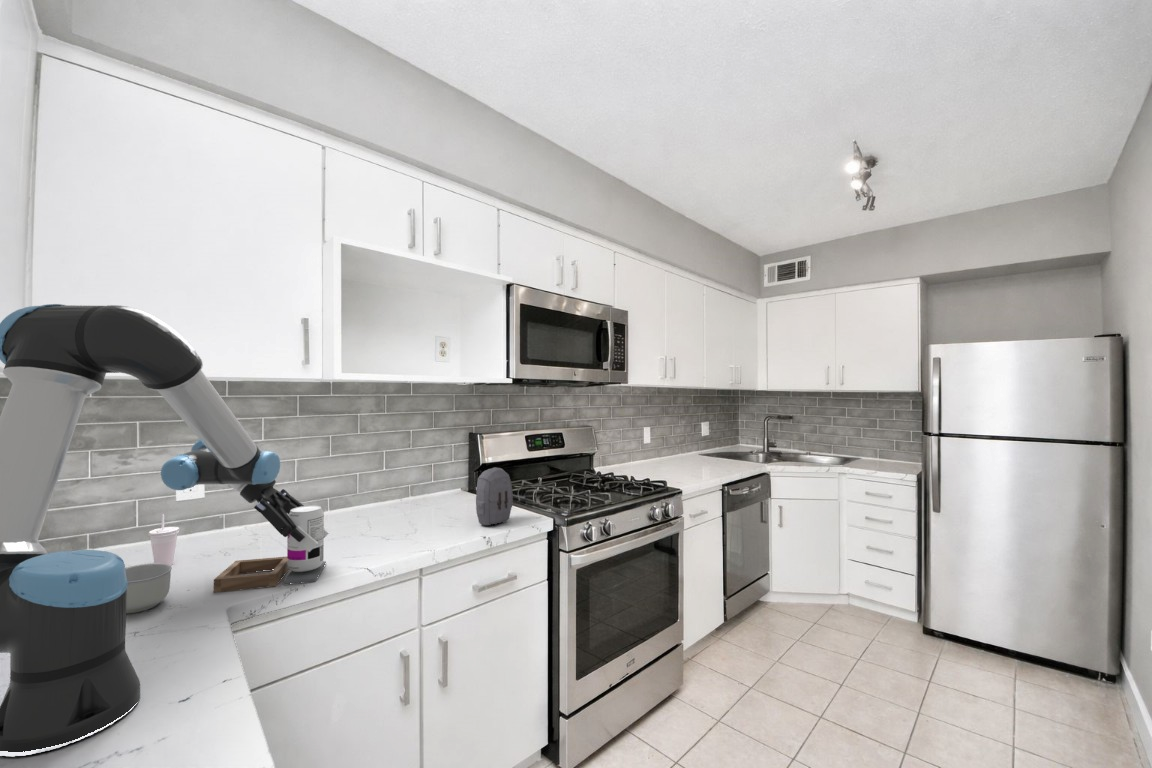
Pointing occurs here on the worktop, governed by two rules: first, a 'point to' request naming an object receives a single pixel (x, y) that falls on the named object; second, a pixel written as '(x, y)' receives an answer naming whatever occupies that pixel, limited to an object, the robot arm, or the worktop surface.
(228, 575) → the pocket frame
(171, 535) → the smoothie
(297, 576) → the rubber mat
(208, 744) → the worktop surface
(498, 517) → the soft grey pack
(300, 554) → the supplement can
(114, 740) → the worktop surface
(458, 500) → the worktop surface
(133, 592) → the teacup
